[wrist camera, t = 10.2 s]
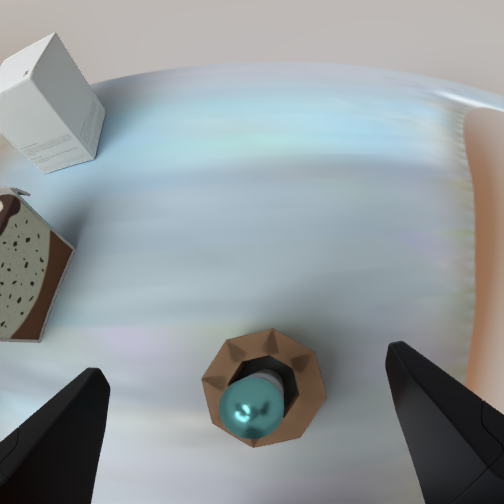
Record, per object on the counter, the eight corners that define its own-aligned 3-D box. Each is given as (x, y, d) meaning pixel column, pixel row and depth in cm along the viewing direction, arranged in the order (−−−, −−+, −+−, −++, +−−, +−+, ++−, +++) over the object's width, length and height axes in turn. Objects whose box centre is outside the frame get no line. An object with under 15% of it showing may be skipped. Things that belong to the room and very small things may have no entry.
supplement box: (107, 109, 32) (58, 28, 20) (95, 161, 29) (29, 77, 17) (57, 126, 32) (4, 58, 20) (43, 176, 30) (-26, 109, 18)
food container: (44, 217, 28) (-20, 169, 18) (83, 234, 27) (14, 180, 17) (0, 327, 24) (-75, 306, 15) (35, 356, 23) (-48, 343, 14)
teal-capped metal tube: (289, 380, 21) (296, 398, 11) (271, 408, 21) (261, 450, 10) (260, 363, 22) (240, 366, 12) (242, 391, 21) (207, 417, 11)
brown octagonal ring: (334, 367, 21) (343, 368, 18) (282, 448, 20) (282, 463, 16) (249, 318, 23) (244, 311, 20) (198, 398, 21) (184, 404, 18)
